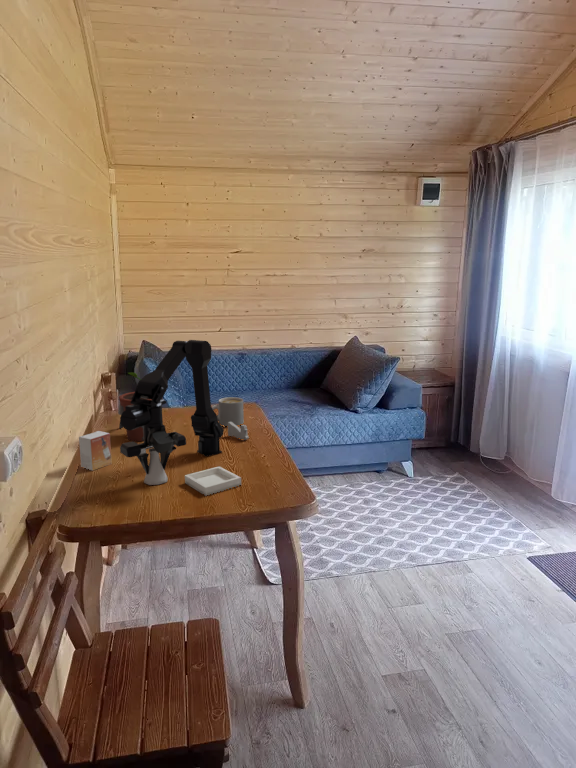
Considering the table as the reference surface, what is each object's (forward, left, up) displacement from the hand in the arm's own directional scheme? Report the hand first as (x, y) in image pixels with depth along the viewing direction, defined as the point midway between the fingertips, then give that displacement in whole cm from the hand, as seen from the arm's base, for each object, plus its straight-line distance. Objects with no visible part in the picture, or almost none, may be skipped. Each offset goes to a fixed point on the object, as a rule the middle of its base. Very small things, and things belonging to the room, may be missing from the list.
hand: (155, 471), depth 167 cm
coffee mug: (-50, -38, -3) cm, 63 cm away
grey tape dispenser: (-43, -19, -3) cm, 47 cm away
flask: (0, 0, -3) cm, 3 cm away
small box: (+9, -24, -3) cm, 26 cm away
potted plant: (-17, -46, -3) cm, 49 cm away
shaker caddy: (-12, +13, -3) cm, 18 cm away
